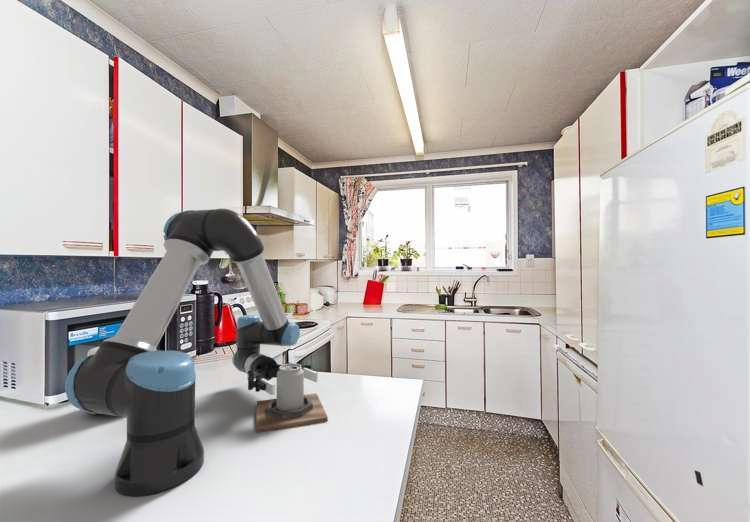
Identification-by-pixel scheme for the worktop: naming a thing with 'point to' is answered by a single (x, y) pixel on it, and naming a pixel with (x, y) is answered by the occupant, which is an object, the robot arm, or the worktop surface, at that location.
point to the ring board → (289, 414)
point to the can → (290, 387)
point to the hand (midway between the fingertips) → (296, 383)
